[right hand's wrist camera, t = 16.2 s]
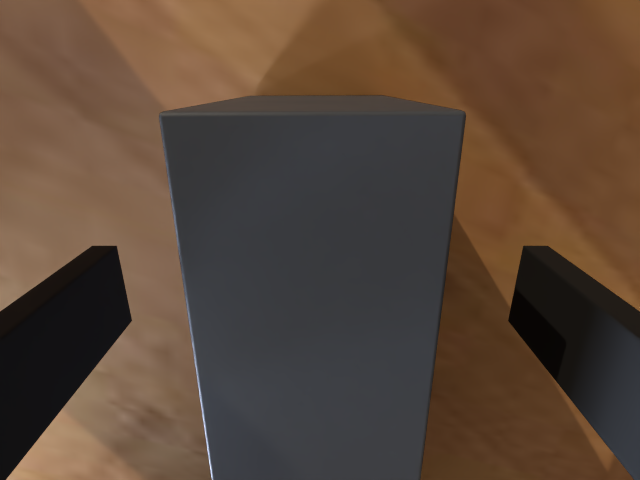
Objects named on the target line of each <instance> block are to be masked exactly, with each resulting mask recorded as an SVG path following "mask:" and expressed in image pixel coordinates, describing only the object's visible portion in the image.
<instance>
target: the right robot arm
mask: <svg viewBox="0 0 640 480" xmlns="http://www.w3.org/2000/svg"><path fill="white" fill-rule="evenodd" d="M131 321H132V319H131V314H130V309H129V304H128V300H127V295H126V290H125V285H124V280H123V275H122V270H121V265H120V260H119V255H118V250H117V246H92V247H90V248H89V249H87V250H86V251H85V252H83V253H82V254H80V255H79V256H78V257H76V258H75V259H73V260H72V261H71V262H69V263H68V264H66V265H65V266H64V267H62V268H61V269H59V270H58V271H57V272H55V273H54V274H52V275H51V276H50V277H48V278H47V279H45V280H44V281H43V282H41V283H40V284H38V285H37V286H36V287H34V288H33V289H31V290H30V291H28V292H27V293H26V294H24V295H23V296H21V297H20V298H19V299H17V300H16V301H14V302H13V303H12V304H10V305H9V306H7V307H6V308H5V309H3V310H2V311H0V480H6V479H7V477H8V476H9V475H10V474H11V472H12V471H13V470H14V469H15V467H16V466H17V465H18V464H19V462H20V461H21V460H22V459H23V457H24V456H25V455H26V454H27V452H28V451H29V450H30V448H31V447H32V446H33V445H34V443H35V442H36V441H37V440H38V438H39V437H40V436H41V435H42V433H43V432H44V431H45V430H46V428H47V427H48V426H49V425H50V423H51V422H52V421H53V419H54V418H55V417H56V416H57V414H58V413H59V412H60V411H61V409H62V408H63V407H64V406H65V404H66V403H67V402H68V401H69V399H70V398H71V397H72V396H73V394H74V393H75V392H76V390H77V389H78V388H79V387H80V385H81V384H82V383H83V382H84V380H85V379H86V378H87V377H88V375H89V374H90V373H91V372H92V370H93V369H94V368H95V367H96V365H97V364H98V363H99V361H100V360H101V359H102V358H103V356H104V355H105V354H106V353H107V351H108V350H109V349H110V348H111V346H112V345H113V344H114V343H115V341H116V340H117V339H118V338H119V336H120V335H121V334H122V332H123V331H124V330H125V329H126V327H127V326H128V325H129V324H130V322H131ZM508 321H509V322H510V324H511V325H512V326H513V327H514V329H515V330H516V331H517V332H518V334H519V335H520V336H521V338H522V339H523V340H524V341H525V343H526V344H527V345H528V346H529V348H530V349H531V350H532V351H533V353H534V354H535V355H536V356H537V358H538V359H539V360H540V361H541V363H542V364H543V365H544V367H545V368H546V369H547V370H548V372H549V373H550V374H551V375H552V377H553V378H554V379H555V380H556V382H557V383H558V384H559V385H560V387H561V388H562V389H563V390H564V392H565V393H566V394H567V396H568V397H569V398H570V399H571V401H572V402H573V403H574V404H575V406H576V407H577V408H578V409H579V411H580V412H581V413H582V414H583V416H584V417H585V418H586V419H587V421H588V422H589V423H590V425H591V426H592V427H593V428H594V430H595V431H596V432H597V433H598V435H599V436H600V437H601V438H602V440H603V441H604V442H605V443H606V445H607V446H608V447H609V448H610V450H611V451H612V452H613V454H614V455H615V456H616V457H617V459H618V460H619V461H620V462H621V464H622V465H623V466H624V467H625V469H626V470H627V471H628V472H629V474H630V475H631V476H632V477H633V479H634V480H640V311H638V310H637V309H635V308H634V307H633V306H631V305H630V304H628V303H627V302H626V301H624V300H623V299H621V298H620V297H619V296H617V295H616V294H614V293H613V292H612V291H610V290H609V289H607V288H606V287H605V286H603V285H602V284H600V283H599V282H598V281H596V280H595V279H593V278H592V277H591V276H589V275H588V274H586V273H585V272H583V271H582V270H581V269H579V268H578V267H576V266H575V265H574V264H572V263H571V262H569V261H568V260H567V259H565V258H564V257H562V256H561V255H560V254H558V253H557V252H555V251H554V250H553V249H551V248H550V247H548V246H523V250H522V255H521V260H520V265H519V270H518V275H517V280H516V285H515V290H514V295H513V300H512V304H511V309H510V314H509V319H508Z"/></svg>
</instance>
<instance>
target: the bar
mask: <svg viewBox="0 0 640 480" xmlns="http://www.w3.org/2000/svg"><path fill="white" fill-rule="evenodd" d="M159 120H160V127H161V134H162V141H163V147H164V154H165V161H166V168H167V175H168V182H169V189H170V196H171V202H172V209H173V216H174V223H175V230H176V237H177V244H178V251H179V257H180V264H181V271H182V278H183V285H184V292H185V299H186V305H187V312H188V319H189V326H190V333H191V340H192V347H193V354H194V360H195V367H196V374H197V381H198V388H199V395H200V402H201V409H202V415H203V422H204V429H205V436H206V443H207V450H208V457H209V463H210V470H211V477H212V480H420V477H421V469H422V461H423V453H424V445H425V437H426V429H427V421H428V413H429V406H430V398H431V390H432V382H433V374H434V366H435V358H436V350H437V342H438V334H439V326H440V318H441V310H442V302H443V294H444V286H445V278H446V270H447V263H448V255H449V247H450V239H451V231H452V223H453V215H454V207H455V199H456V191H457V183H458V175H459V167H460V159H461V151H462V143H463V135H464V128H465V120H466V114H465V112H464V111H462V110H457V109H451V108H446V107H441V106H436V105H430V104H425V103H420V102H415V101H410V100H404V99H399V98H394V97H389V96H383V95H346V96H246V97H241V98H235V99H230V100H224V101H219V102H213V103H208V104H202V105H197V106H191V107H185V108H180V109H174V110H169V111H163V112H161V113H160V115H159Z"/></svg>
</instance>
